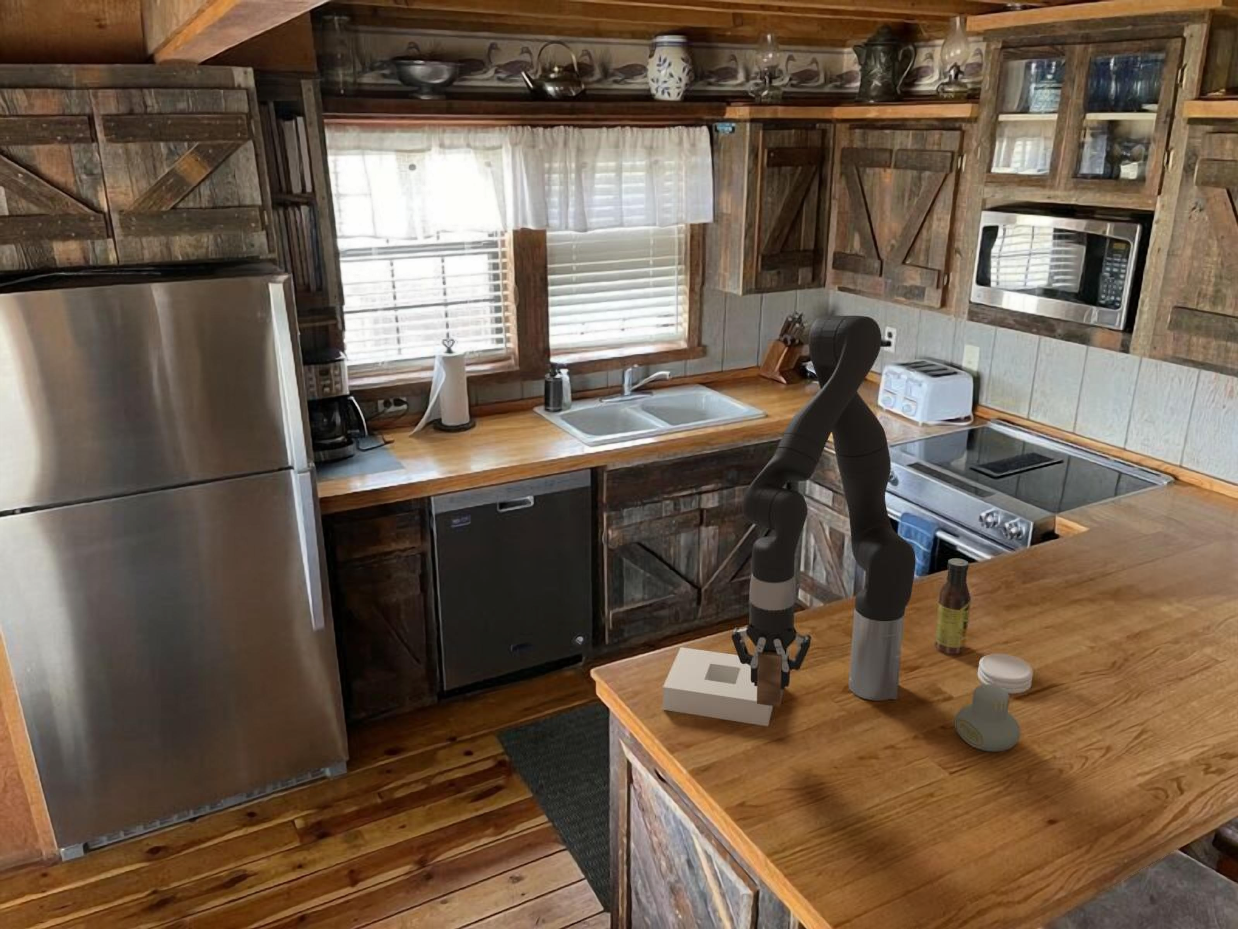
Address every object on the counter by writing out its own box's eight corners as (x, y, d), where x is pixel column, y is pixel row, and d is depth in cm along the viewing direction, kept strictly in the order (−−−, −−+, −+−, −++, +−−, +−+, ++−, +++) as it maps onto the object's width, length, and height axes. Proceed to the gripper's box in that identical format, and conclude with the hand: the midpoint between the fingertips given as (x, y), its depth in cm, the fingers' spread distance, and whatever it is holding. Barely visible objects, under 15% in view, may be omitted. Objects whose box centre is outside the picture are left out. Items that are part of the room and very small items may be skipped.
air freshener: (945, 730, 170) (951, 682, 167) (980, 719, 173) (987, 672, 170) (990, 764, 161) (997, 715, 157) (1026, 752, 164) (1033, 703, 160)
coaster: (1035, 697, 180) (1038, 681, 179) (981, 692, 182) (983, 676, 181) (1025, 670, 189) (1027, 655, 188) (973, 665, 191) (975, 650, 190)
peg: (782, 694, 165) (784, 644, 162) (779, 706, 161) (781, 656, 158) (759, 691, 166) (760, 642, 163) (756, 703, 163) (757, 653, 159)
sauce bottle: (966, 657, 193) (977, 570, 187) (935, 654, 195) (945, 568, 188) (962, 641, 199) (972, 557, 193) (932, 639, 201) (941, 554, 194)
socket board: (778, 683, 185) (779, 661, 184) (768, 726, 172) (769, 703, 170) (680, 668, 191) (680, 647, 189) (662, 709, 177) (662, 686, 175)
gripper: (816, 592, 159) (812, 679, 164) (733, 584, 162) (732, 669, 168) (813, 612, 152) (809, 702, 158) (726, 604, 156) (726, 692, 161)
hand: (769, 685), depth 163 cm, fingers closed on peg, 4 cm apart
